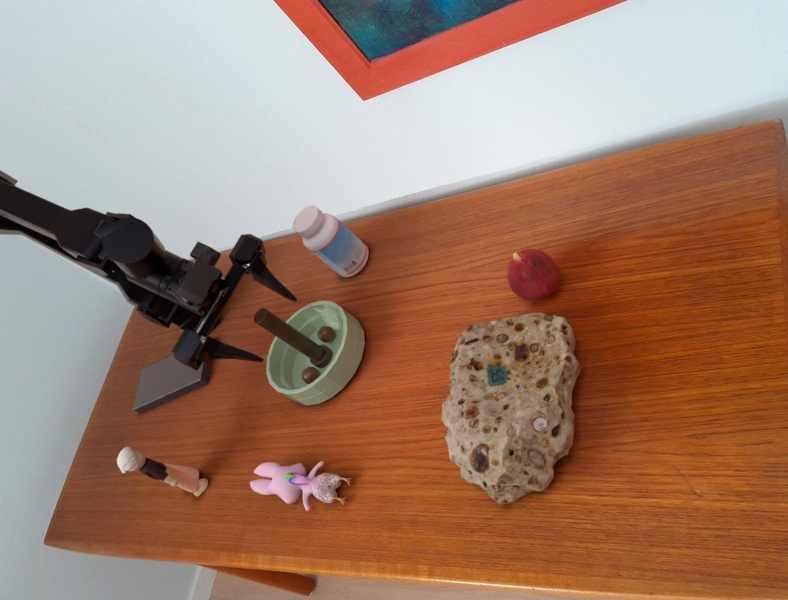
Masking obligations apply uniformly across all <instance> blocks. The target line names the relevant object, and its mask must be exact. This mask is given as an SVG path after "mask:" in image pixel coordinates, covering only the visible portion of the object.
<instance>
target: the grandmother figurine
mask: <svg viewBox="0 0 788 600" xmlns="http://www.w3.org/2000/svg"><path fill="white" fill-rule="evenodd" d="M116 463H117V467H118V469H119V470H120V472H121V473H122V474H127V473H128V472H133V471H139V472H140V473H142V474H143V475H145V476H147V477H148V478H150V479H152V480H155V481H160V482H163V483H166V484H167V485H170V486H171V487H174V488H175V487H177V488H178V487H179V488H180V489H183V490H184V491H186V492H188V493H193V494H192V495H194V496H195V497H197V498H198V497H200V496H201V495H202V494H203V493H204V492H205V491H206V490H207V488H208V486H209V480H208V479H207V478H206V477H205V478H204V477H202V478H200V471H199V470H198V469H197V468H195V467H194V468H193V467H190V466H186V465H182V464H173V463H165V462H161V461H157V460H154V459H152V458H149V457H146V456H145V454H144V453H143V452H141V451H140V450H133V447H130V446H125V447H124V448H122V449H121V451H120V452H119V453H118V455H117V458H116Z"/></svg>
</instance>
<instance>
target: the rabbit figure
mask: <svg viewBox="0 0 788 600" xmlns="http://www.w3.org/2000/svg"><path fill="white" fill-rule="evenodd" d="M324 465H325V461H323V460H321V461H319V462H318V463H317V464H316V465H315V466H314V467H313V468H312V469H311V470H310V472H309V474H308V475H307V473H308V472H307V469H306V467H305V466H304V465H303V464H302V463H294V464H291V465H283V466H282V465H280V464H279V463H278V462H273V461H267V462H262V463H261V464H259V465H258V466H257V467H256V468H255V469H254V471H253V474H255V475H258V476H260V477H264V478H258V479H254V480H251V481H250V482H249V485H250V488H251V490H252V491H254V492H255V493H257V494H260V495H262V496H263V495H264V496H271V495H276V496H278V497H279V498H280V499H281V500H282V501H283V502H285V504H288V505H291V504H293V503H295V502H297V500H299V499H300V497H301V495H302V503H303V506H304V510H305V511H307V512H309V511H310V510H311V506H310V504H309V497H310V496H311V495H313V496H314V497H315V498H316V499H317V500H319V501H321V502H323V503H325V504H333V503H335V502H336V501H340V502H341V504H342V505H345V503H346V504H347V503H348V502H347V501H345V500H346V498H347V496H344V497H338V493H337V489H338V488H340V486H342V483H343V481H345V482H346V483H347V484H348V486H349V487H350V486H351V484H350V483H353V481H352V479H353V477H341V476H340V475H339V474H337V473H332V472H323V473H321V474H318V475H317V472H318V470H319V469H320V468H321V467H323V466H324ZM265 478H266V479H265ZM267 478H269V479H267ZM342 480H343V481H342Z"/></svg>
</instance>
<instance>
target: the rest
mask: <svg viewBox="0 0 788 600" xmlns="http://www.w3.org/2000/svg"><path fill="white" fill-rule="evenodd" d="M211 364H212V361H211V362H210V363H209V364H208V365H207V364H205V363H202V365H201V366H200V368H199V369H198V370H197V371H196V370H194V369H192V368H190V367H188V366H186V365H184V364H182V363H180V362H179V361H178V360H176V359H175V358H174V357H173V355H172V354H171V355H170V356H168V357H166V358H163V359H161V360H159V361H157V362H155V363H153V364H150V365H148V366H147V367H145V368H143V369H141V373H140V375H139V376H140V377H139V380H138V381H139V382H138V386H137V390H136V394H135V398H134V403H133V407H132V410H133V411H134V412H137V413H139V414H142V413H144V412H146V411H148V410H151V409H153V408H155V407H157V406H160V405H162V404H165V403H167V402H169V401H171V400H173V399H175V398H178V397H180V396H183V395H185V394H187V393H189V392H191V391H193V390H197V389H198V388H200V387H202V386H205V385H208V383H209V377H210V369H211Z"/></svg>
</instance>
